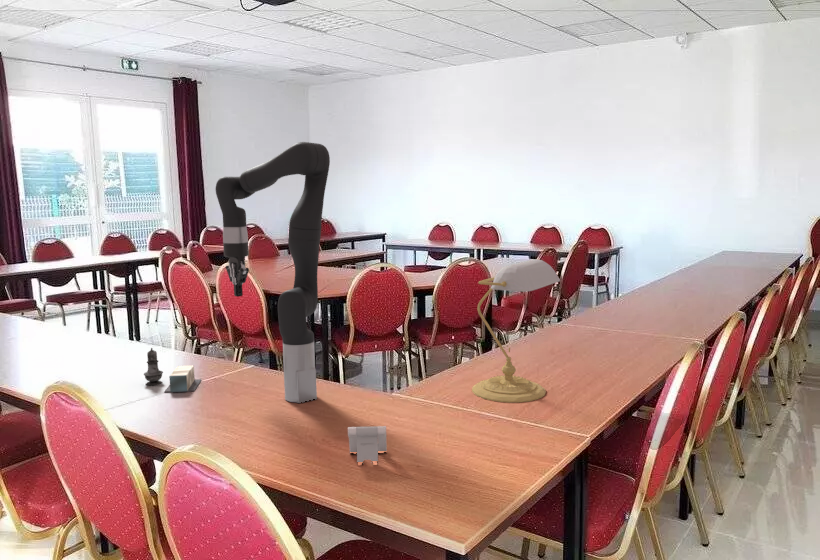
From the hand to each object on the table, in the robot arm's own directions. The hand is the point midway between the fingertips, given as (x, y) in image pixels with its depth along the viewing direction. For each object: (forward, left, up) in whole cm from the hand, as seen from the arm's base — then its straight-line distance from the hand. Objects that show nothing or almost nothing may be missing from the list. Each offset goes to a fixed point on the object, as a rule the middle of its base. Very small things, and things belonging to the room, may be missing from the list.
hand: (238, 296), depth 205 cm
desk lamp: (-59, -61, -29) cm, 90 cm away
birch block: (+5, +19, -26) cm, 32 cm away
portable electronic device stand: (-74, +1, -29) cm, 80 cm away
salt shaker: (+20, +22, -29) cm, 42 cm away
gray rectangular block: (+11, +15, -29) cm, 35 cm away
